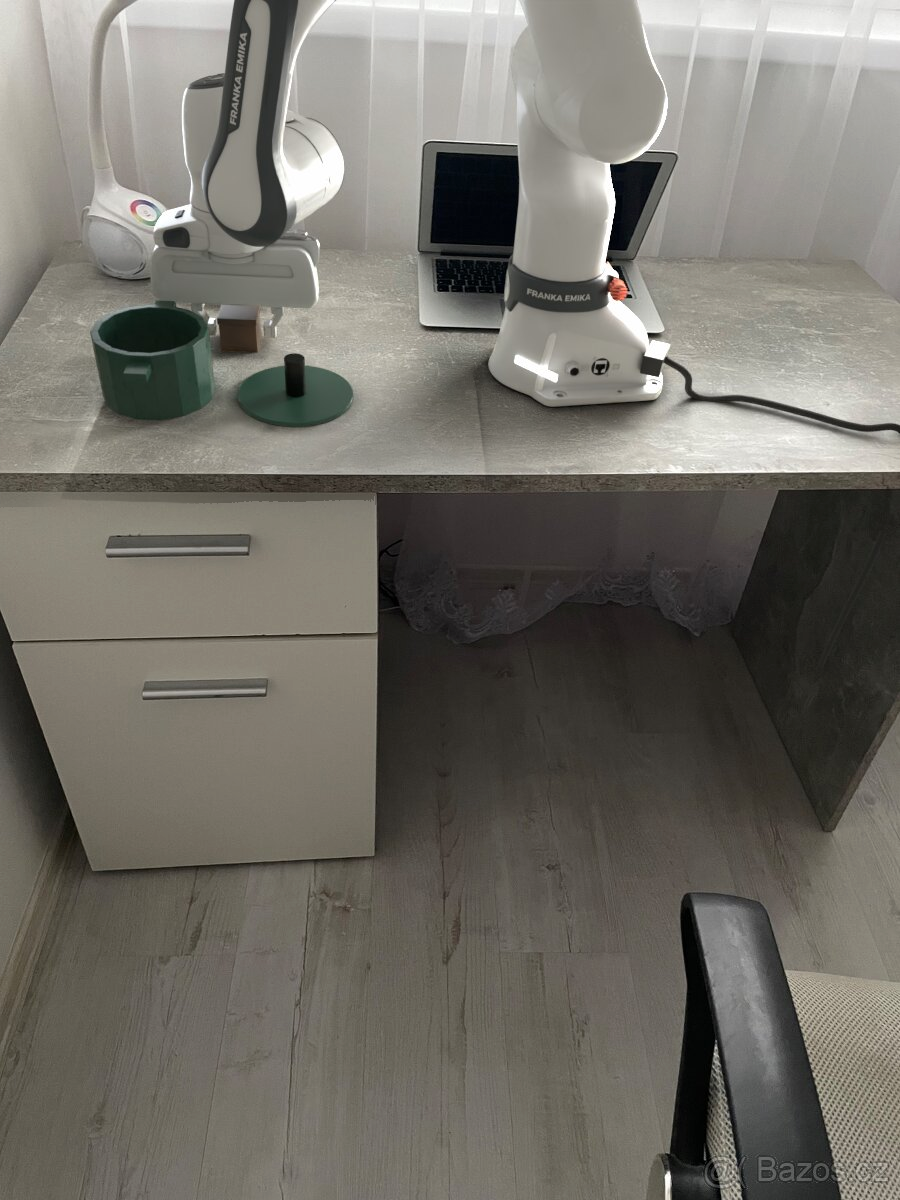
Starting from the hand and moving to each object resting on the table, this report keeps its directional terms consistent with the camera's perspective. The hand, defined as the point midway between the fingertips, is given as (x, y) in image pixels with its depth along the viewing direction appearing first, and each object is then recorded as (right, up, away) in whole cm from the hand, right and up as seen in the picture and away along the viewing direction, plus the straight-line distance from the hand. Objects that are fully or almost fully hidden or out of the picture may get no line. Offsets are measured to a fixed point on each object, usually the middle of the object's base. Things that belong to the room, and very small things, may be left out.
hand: (240, 335), depth 121 cm
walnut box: (0, -1, +1) cm, 2 cm away
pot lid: (+8, -10, -8) cm, 15 cm away
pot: (-8, -10, -9) cm, 15 cm away
